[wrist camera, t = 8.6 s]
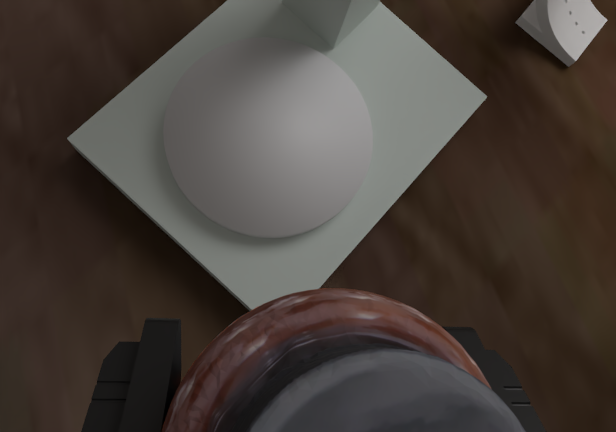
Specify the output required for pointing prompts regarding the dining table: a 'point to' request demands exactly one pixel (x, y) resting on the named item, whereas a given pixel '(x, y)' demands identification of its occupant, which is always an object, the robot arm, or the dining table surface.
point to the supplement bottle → (336, 372)
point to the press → (279, 136)
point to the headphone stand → (562, 26)
